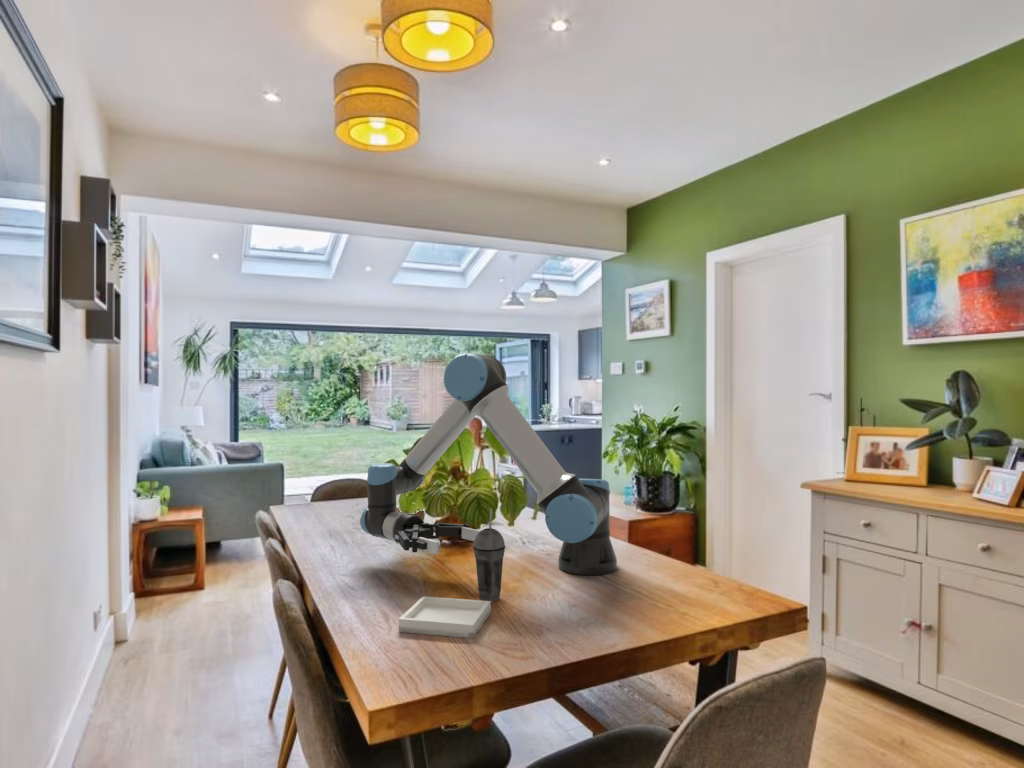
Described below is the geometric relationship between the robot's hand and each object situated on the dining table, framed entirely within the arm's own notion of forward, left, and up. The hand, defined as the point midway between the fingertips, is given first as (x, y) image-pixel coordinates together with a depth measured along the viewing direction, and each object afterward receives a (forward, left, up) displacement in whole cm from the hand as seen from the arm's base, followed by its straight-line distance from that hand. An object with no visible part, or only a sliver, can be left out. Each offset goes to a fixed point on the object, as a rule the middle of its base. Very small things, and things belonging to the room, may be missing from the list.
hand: (460, 542), depth 144 cm
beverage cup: (-8, +5, -11) cm, 15 cm away
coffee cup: (+33, -53, -11) cm, 64 cm away
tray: (-3, +20, -11) cm, 23 cm away
